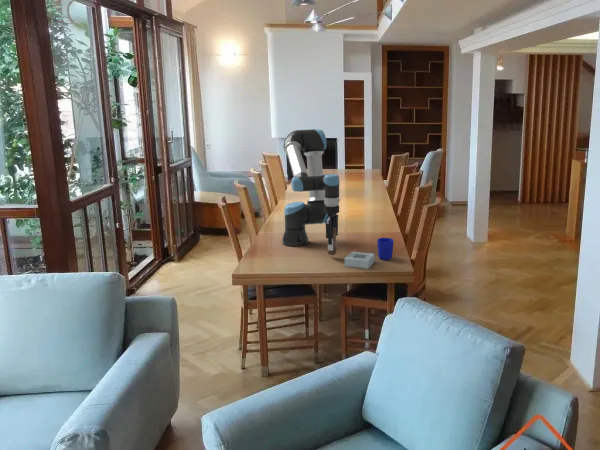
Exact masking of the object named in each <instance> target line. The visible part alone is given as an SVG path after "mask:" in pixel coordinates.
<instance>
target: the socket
mask: <svg viewBox="0 0 600 450" xmlns="http://www.w3.org/2000/svg"><path fill="white" fill-rule="evenodd" d="M375 258H376V254H375V253H370V252H369V253H368V252H359V251H358V252H357V251H351V252H350V253H349V254H348V255H346V257H344V267H350V268H359V269H366V270H369V268H371V266H372V265H373V264H374V263H375V261H376V259H375Z"/></svg>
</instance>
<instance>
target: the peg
mask: <svg viewBox="0 0 600 450" xmlns="http://www.w3.org/2000/svg"><path fill="white" fill-rule="evenodd" d="M327 251H328V252H327V253H328V255H329V256H334V255H336V254H337V235H336V227H333V251H331V250H328V249H327Z"/></svg>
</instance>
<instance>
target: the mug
mask: <svg viewBox="0 0 600 450" xmlns="http://www.w3.org/2000/svg"><path fill="white" fill-rule="evenodd" d="M394 241H395V240H394V239H393V238H391V237H381V238H378V239H377V254H378V255H377V256H378V258H379V259H380V260H382V261H387V260H388V261H389V260H391V259H392V258H393V251H394V250H393V249H394Z"/></svg>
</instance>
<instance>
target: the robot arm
mask: <svg viewBox="0 0 600 450" xmlns="http://www.w3.org/2000/svg"><path fill="white" fill-rule="evenodd" d="M327 146H328V144H327V138H326V134H325V132H324V131H323V130H322V129H317V128H316V129H315V128H313V129H312V128H311V129H295V130H293V131H291V132H290V133H289V134H288V135H286V137H285V139H284V142H283V151H284V153H285V154H286V155H287V158H288V161H289V165H290V168H291V169H290V170H291V173H292V176H293V177H292V178H291V182H290V183H291V184H290V185H291V189H292V191H293V192H295V193H297V192H308V193H309V199H308V200H307V204H306V203H305V202H304V201H294V202H290V203H287V204H286V205H284V210H283V211H284V213H283V214H284V232H283V236H282V240H281V241H282V245H284V246H285V247H286V246H287V247H302V246H306V245H308V244H309V236H308V234H307V231H306V226H307V225H318V224H319V225H322V224H325V239H327V251H328V250H331V251H333V227H336V236H339V213H340V201H341V199H340V183H341V182H340V176H339V174H335V173H328V174H325V173H324V172H323V170H324V169H323V155H324V154H325V150H326V149H327ZM301 151H303V154H302V152H301ZM303 155H304V156H305V157H306V164H307V165H306V164H305V161H304V158H303ZM306 166H307V167H306Z"/></svg>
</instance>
